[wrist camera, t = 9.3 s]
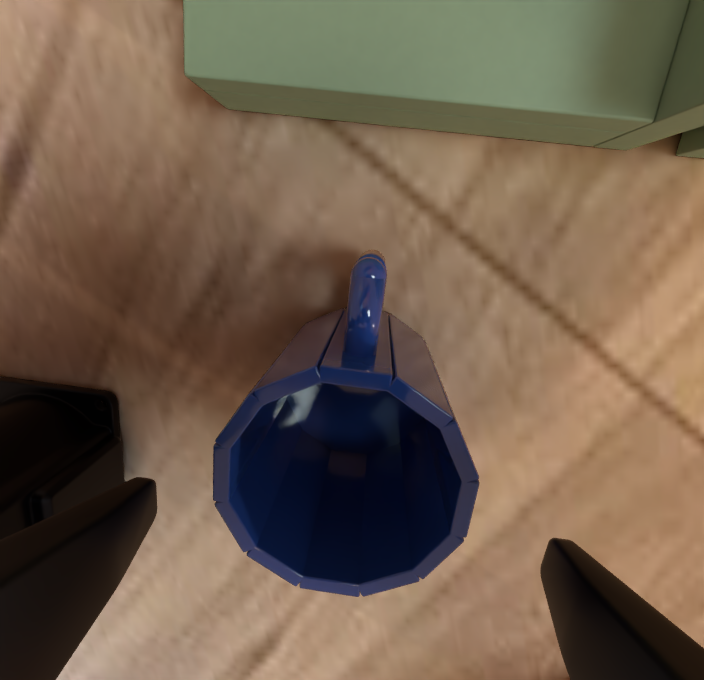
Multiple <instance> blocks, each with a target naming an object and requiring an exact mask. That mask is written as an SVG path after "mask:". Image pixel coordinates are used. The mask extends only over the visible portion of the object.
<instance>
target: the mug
mask: <svg viewBox="0 0 704 680" xmlns="http://www.w3.org/2000/svg"><path fill="white" fill-rule="evenodd" d="M386 279H387V271H386V264H385V258H384V256H383V255H382V253H380V252H379V251H377V250H368V251H365V252H364V253H363V254H362V255H361V257H360V258H359V259H358V261H357V262H356V263H355V264H354V266H353V268H352V271H351V277H350V286H349V295H348V305H347V307H346V309H344V308H341V309H338V310H336V311H334V312H331V313H329V314H326V315H324V316H322V317H319V318H317V319H315V320H312V321H310V322H307V324H306V325H304V326H303V327H302V328H301V329H300V331H299V332H298V333H297V334H296V336H295V337H294V338H293V339H292V341H291V342H290V343H289V344H288V346H287V347H286V348H285V349H284V350H283V352H282V353H281V354H280V355H279V357H278V358H277V359H276V360H275V362H274V363H273V364H272V365H271V367H270V368H269V369H268V370H267V372H266V373H265V374H264V375H263V376H262V378H261V379H260V380H259V381H258V383H257V384H256V385H255V386H254V388H253V389H252V390H251V391H250V393H249V394H248V395H247V397H246V398H245V399H244V401H243V402H242V404H241V405H240V406H239V408H238V409H237V411H236V412H235V413H234V415H233V416H232V418H231V419H230V420H229V422H228V423H227V424H226V426H225V427H224V429H223V430H222V431H221V433H220V434H219V436H218V437H217V438H216V441H215V442H216V443H215V444H214V454H213V500H214V501H216V502H215V507H216V508H217V510H218V512H219V513H220V515H221V517H222V518H223V520H224V522H225V523H226V525H227V526H228V528H229V530H230V531H231V533H232V535H233V536H234V538H235V540H236V541H237V543H238V545H239V546H240V548H241V549H242V551H243V552H247V556H248V557H250V558H251V559H253V560H254V561H256V562H258V563H259V564H261V565H262V566H264V567H265V568H267V569H269V570H270V571H272V572H273V573H275V574H277V575H278V576H280V577H281V578H283V579H285V580H286V581H288V582H289V583H291V584H292V585H294V586H297V585H298V584H299V583H300V585H299V586H300V588H303V589H309V590H316V591H322V592H329V593H335V594H342V595H348V596H355V597H359V595H360V593H361V594H362V596H368V595H372V594H375V593H379V592H383V591H386V590H390V589H394V588H397V587H401V586H405V585H408V584H412V583H416V582H419V577H420V578H421V579H424V578H425V577H426V576H427V575H428V574H429V573H431V572H432V571H433V570H434V569H435V568H436V567H437V566H438V565H439V564H440V563H441V562H442V561H443V560H444V559H446V558H447V557H448V556H449V555H450V554H451V553H452V552H453V551H454V550H455V549H456V548H457V547H458V546H460V545H461V544H462V543H463V541H464V538H465V537H467V533H468V529H469V525H470V520H471V516H472V512H473V508H474V504H475V500H476V496H477V491H478V487H479V480H478V479H479V475H478V473H477V470H476V468H475V465H474V463H473V460H472V458H471V455H470V453H469V450H468V448H467V445H466V442H465V440H464V437H463V435H462V432H461V430H460V427H459V425H458V422H457V420H456V417H455V415H454V412H453V410H452V407H451V405H450V402H449V400H448V397H447V395H446V392H445V390H444V387H443V385H442V382H441V380H440V377H439V375H438V372H437V370H436V367H435V365H434V362H433V360H432V357H431V355H430V352H429V350H428V347H427V345H426V342H425V340H423V338H422V337H421V336H420V335H419V334H417V333H416V332H415V331H413V330H412V329H411V328H409V327H408V326H407V325H405V324H404V323H403V322H401V321H400V320H399V319H397V318H396V317H395V316H393V315H392V314H389V315H388V313H387V312H383V311H382V309H383V301H384V294H385V287H386ZM463 537H464V538H463Z"/></svg>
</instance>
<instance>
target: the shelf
mask: <svg viewBox="0 0 704 680" xmlns="http://www.w3.org/2000/svg"><path fill="white" fill-rule="evenodd" d="M183 23H184V73H185V76H186V77H188V78H189V79H190V80H191V81H193V82H194V83H195V84H196V85H198V86H199V87H200V88H202V89H203V90H204V91H205V92H207V93H208V94H209V95H210V96H212V97H213V98H214V99H215V100H217V101H218V102H219V103H221V104H222V105H223V106H224V107H226V108H227V109H231V110H241V111H251V112H260V113H270V114H280V115H290V116H299V117H309V118H319V119H328V120H338V121H348V122H358V123H367V124H377V125H387V126H396V127H406V128H416V129H426V130H435V131H445V132H455V133H465V134H474V135H484V136H494V137H503V138H513V139H523V140H533V141H542V142H552V143H562V144H571V145H581V146H593V147H598V148H608V149H617V150H630V149H633V148H636V147H639V146H642V145H645V144H648V143H651V142H654V141H658V140H661V139H664V138H667V137H670V136H673V135H676V134H679V133H682V132H683V133H682V137H681V140H680V143H679V146H678V149H677V152H676V155H677V156H686V157H695V158H704V0H183Z"/></svg>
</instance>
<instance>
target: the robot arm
mask: <svg viewBox="0 0 704 680" xmlns="http://www.w3.org/2000/svg"><path fill="white" fill-rule="evenodd" d="M102 400H103V401H104V402H105V403H106V405H107V406H106V405H104V404H103V403H102ZM156 513H157V492H156V483H155V481H154V480H153V479H148V478H141V477H136V478H133V479H131V480H129V481H127V482H125V483H124V470H123V456H122V442H121V439H120V425H119V411H118V401H117V398H116V397H115V395H114V394H113V393H111V392H109V391H105V390H98V389H90V388H83V387H75V386H68V385H60V384H53V383H45V382H38V381H30V380H23V379H16V378H8V377H1V376H0V680H56V678H57V677H58V675H59V674H60V672H61V671H62V669H63V668H64V667H65V665H66V664H67V662H68V661H69V659H70V658H71V656H72V655H73V653H74V652H75V650H76V649H77V647H78V646H79V644H80V643H81V641H82V640H83V638H84V637H85V635H86V634H87V632H88V631H89V629H90V628H91V626H92V625H93V623H94V622H95V620H96V619H97V617H98V616H99V614H100V613H101V611H102V610H103V608H104V607H105V605H106V604H107V602H108V601H109V599H110V598H111V596H112V595H113V593H114V591H115V590H116V588H117V587H118V585H119V583H120V582H121V580H122V578H123V576H124V575H125V573H126V571H127V569H128V567H129V565H130V564H131V562H132V560H133V558H134V556H135V554H136V553H137V551H138V549H139V547H140V545H141V543H142V541H143V540H144V538H145V536H146V534H147V532H148V530H149V529H150V527H151V525H152V523H153V521H154V519H155V517H156ZM541 579H542V583H543V587H544V591H545V594H546V598H547V602H548V606H549V609H550V613H551V617H552V621H553V625H554V628H555V632H556V636H557V640H558V643H559V647H560V650H561V654H562V657H563V660H564V663H565V666H566V669H567V672H568V674H569V677H570V680H704V648H703V647H701V646H700V645H699V644H698V643H696V642H695V641H694V640H693V639H692V638H690V637H689V636H688V635H687V634H685V633H684V632H683V631H682V630H681V629H679V628H678V627H677V626H676V625H674V624H673V623H672V622H671V621H670V620H668V619H667V618H666V617H665V616H663V615H662V614H661V613H660V612H659V611H657V610H656V609H655V608H654V607H652V606H651V605H650V604H649V603H648V602H646V601H645V600H644V599H643V598H641V597H640V596H639V595H638V594H636V593H635V592H634V591H633V590H632V589H630V588H629V587H628V586H627V585H625V584H624V583H623V582H622V581H621V580H619V579H618V578H617V577H616V576H614V575H613V574H612V573H611V572H610V571H608V570H607V569H606V568H605V567H603V566H602V565H601V564H600V563H599V562H597V561H596V560H595V559H594V558H592V557H591V556H590V555H589V554H587V553H586V552H585V551H584V550H583V549H581V548H580V547H579V546H578V545H576V544H575V543H574V542H573V541H571V540H566V539H559V538H552V539H550V541H549V543H548V545H547V549H546V552H545V555H544V558H543V561H542V564H541Z"/></svg>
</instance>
